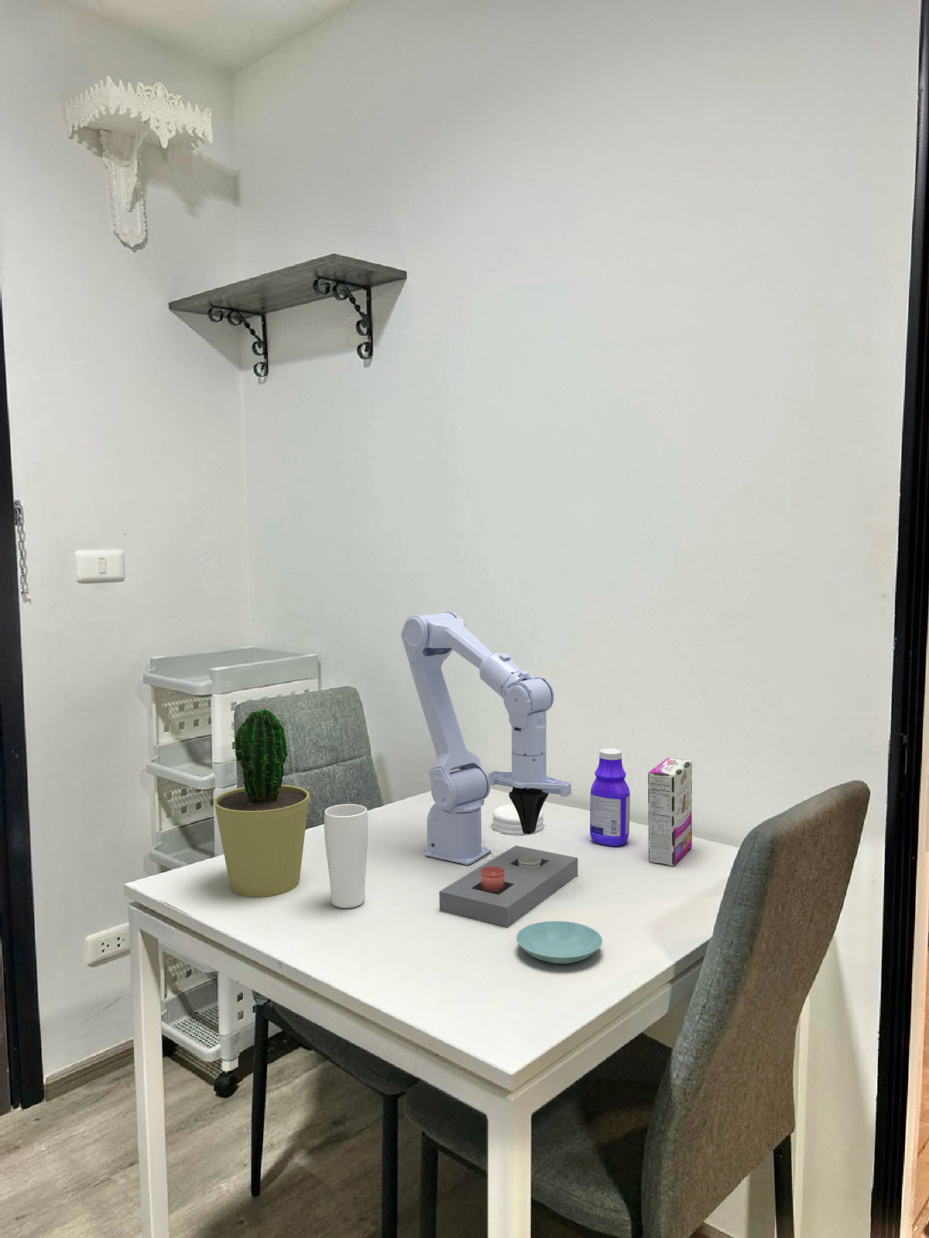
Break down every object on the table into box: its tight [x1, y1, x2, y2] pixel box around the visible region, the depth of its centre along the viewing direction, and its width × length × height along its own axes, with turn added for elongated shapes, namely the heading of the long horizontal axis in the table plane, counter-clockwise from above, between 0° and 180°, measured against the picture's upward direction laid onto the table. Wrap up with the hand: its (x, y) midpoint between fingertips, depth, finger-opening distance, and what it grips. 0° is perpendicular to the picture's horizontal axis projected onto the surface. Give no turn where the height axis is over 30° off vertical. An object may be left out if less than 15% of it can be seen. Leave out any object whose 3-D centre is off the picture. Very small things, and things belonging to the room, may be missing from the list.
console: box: [438, 845, 579, 928], centre depth 148 cm, size 24×12×3 cm, turn 148°
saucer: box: [516, 920, 603, 965], centre depth 127 cm, size 12×12×2 cm
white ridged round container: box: [491, 803, 544, 836], centre depth 181 cm, size 10×10×4 cm
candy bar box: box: [647, 757, 693, 867], centre depth 164 cm, size 11×5×16 cm, turn 150°
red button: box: [480, 866, 505, 892], centre depth 143 cm, size 4×4×3 cm
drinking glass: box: [323, 803, 369, 909], centre depth 144 cm, size 7×7×15 cm
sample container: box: [518, 855, 541, 870], centre depth 153 cm, size 4×4×3 cm
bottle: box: [589, 747, 631, 847], centre depth 171 cm, size 7×6×17 cm
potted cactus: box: [213, 706, 310, 898], centre depth 152 cm, size 15×15×30 cm
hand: (529, 832), depth 153 cm, fingers closed
